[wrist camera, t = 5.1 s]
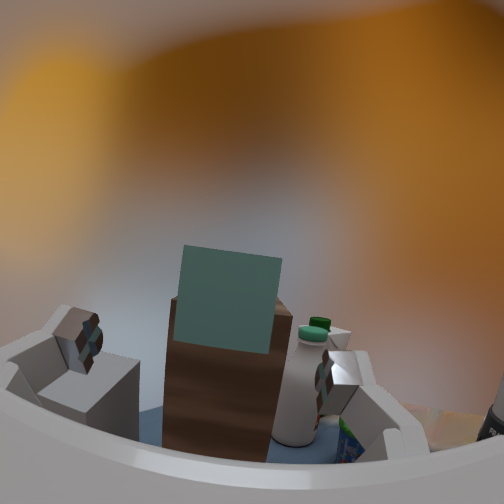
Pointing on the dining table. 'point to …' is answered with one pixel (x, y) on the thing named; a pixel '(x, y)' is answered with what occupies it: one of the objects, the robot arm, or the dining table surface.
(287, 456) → the dining table surface
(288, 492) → the robot arm
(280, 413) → the milk bottle
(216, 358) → the walnut stand
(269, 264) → the batten
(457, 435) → the dining table surface
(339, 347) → the milk carton
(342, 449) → the snack cup
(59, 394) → the base block
